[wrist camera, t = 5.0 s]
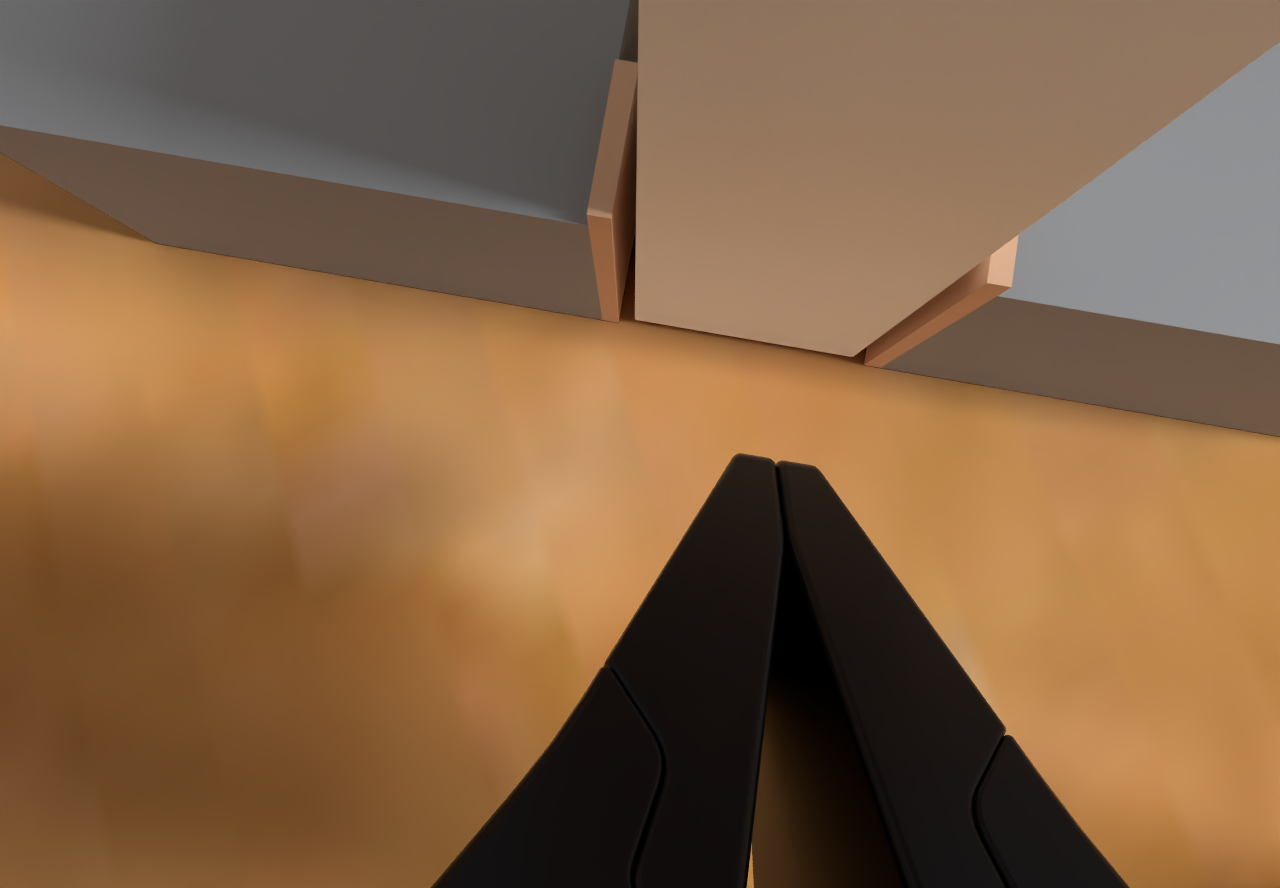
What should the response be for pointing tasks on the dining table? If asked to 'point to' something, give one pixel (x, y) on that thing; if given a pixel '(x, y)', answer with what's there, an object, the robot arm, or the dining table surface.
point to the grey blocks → (614, 183)
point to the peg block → (888, 143)
